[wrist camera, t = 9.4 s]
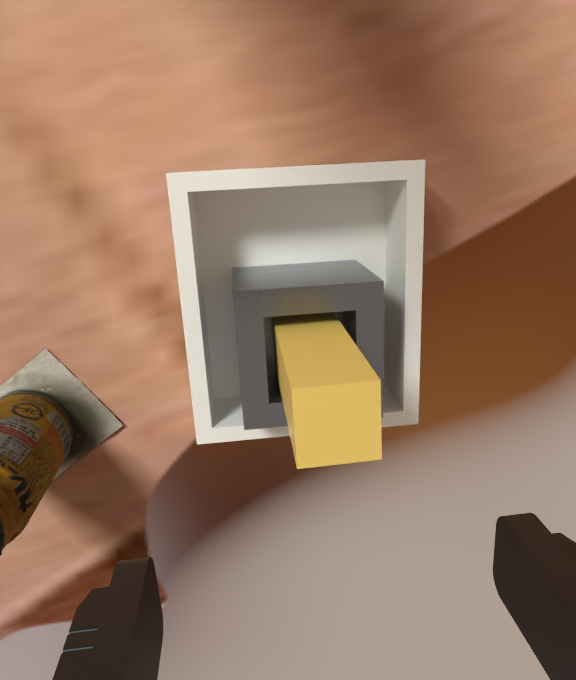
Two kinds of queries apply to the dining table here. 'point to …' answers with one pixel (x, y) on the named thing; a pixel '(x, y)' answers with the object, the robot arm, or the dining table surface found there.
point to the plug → (326, 391)
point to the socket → (295, 299)
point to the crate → (291, 248)
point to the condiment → (43, 435)
